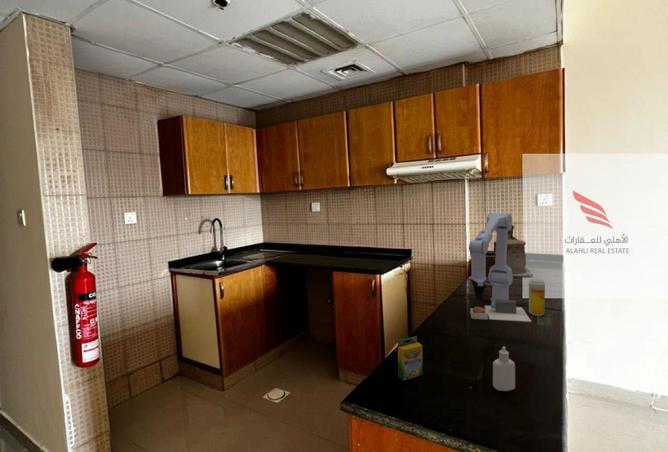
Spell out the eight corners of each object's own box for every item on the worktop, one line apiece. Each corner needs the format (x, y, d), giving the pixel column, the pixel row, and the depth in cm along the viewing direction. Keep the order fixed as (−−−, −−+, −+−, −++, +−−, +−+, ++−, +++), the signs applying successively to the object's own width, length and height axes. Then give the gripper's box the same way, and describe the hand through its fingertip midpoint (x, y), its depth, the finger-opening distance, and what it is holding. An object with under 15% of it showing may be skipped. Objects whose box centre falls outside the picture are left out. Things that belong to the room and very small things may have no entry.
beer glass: (546, 316, 152) (547, 282, 150) (531, 316, 153) (531, 282, 151) (541, 311, 158) (541, 279, 156) (526, 311, 159) (526, 279, 157)
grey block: (490, 309, 162) (490, 299, 161) (514, 311, 159) (514, 300, 159) (491, 312, 159) (491, 301, 158) (516, 313, 156) (516, 302, 155)
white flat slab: (484, 306, 168) (484, 305, 168) (521, 307, 164) (521, 307, 164) (489, 319, 151) (489, 318, 151) (531, 321, 147) (531, 321, 147)
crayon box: (403, 381, 106) (402, 344, 104) (397, 376, 108) (396, 340, 107) (423, 375, 108) (422, 339, 107) (417, 371, 111) (416, 335, 110)
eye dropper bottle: (493, 382, 103) (493, 342, 102) (514, 385, 101) (514, 345, 99) (492, 389, 99) (492, 348, 98) (515, 394, 97) (515, 352, 96)
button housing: (470, 313, 159) (470, 308, 159) (485, 314, 157) (485, 309, 157) (471, 318, 153) (471, 313, 153) (487, 319, 151) (487, 313, 151)
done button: (473, 311, 158) (473, 306, 157) (482, 311, 156) (482, 307, 156) (474, 314, 154) (474, 309, 154) (483, 314, 153) (483, 309, 153)
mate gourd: (503, 280, 211) (503, 248, 210) (500, 286, 200) (500, 251, 198) (476, 278, 220) (475, 246, 218) (471, 283, 208) (471, 250, 206)
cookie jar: (526, 269, 238) (526, 222, 235) (534, 278, 215) (534, 226, 212) (486, 268, 246) (486, 222, 243) (490, 276, 223) (490, 226, 220)
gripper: (467, 263, 161) (467, 292, 163) (470, 271, 148) (470, 302, 149) (484, 264, 159) (484, 293, 161) (488, 271, 145) (488, 303, 147)
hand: (478, 297), depth 155 cm, fingers open, 4 cm apart
